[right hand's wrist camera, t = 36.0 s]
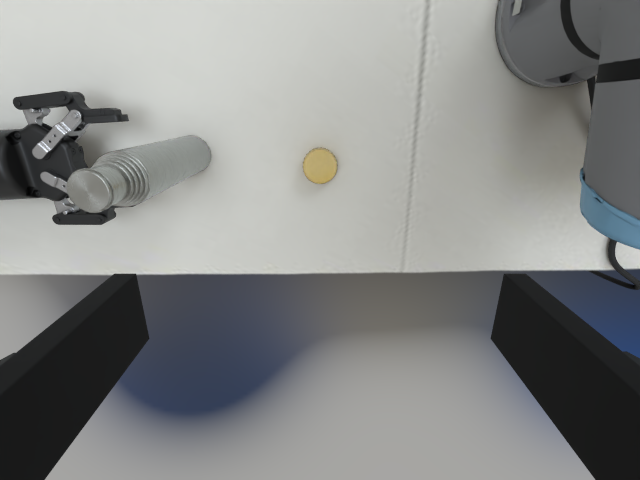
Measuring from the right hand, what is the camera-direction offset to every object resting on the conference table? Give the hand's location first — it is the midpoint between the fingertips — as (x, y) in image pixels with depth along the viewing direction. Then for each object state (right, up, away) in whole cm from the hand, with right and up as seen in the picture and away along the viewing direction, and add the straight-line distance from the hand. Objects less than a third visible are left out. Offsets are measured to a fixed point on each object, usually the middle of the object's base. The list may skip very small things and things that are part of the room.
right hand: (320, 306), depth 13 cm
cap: (0, +12, +31) cm, 33 cm away
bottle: (-16, +13, +32) cm, 38 cm away
